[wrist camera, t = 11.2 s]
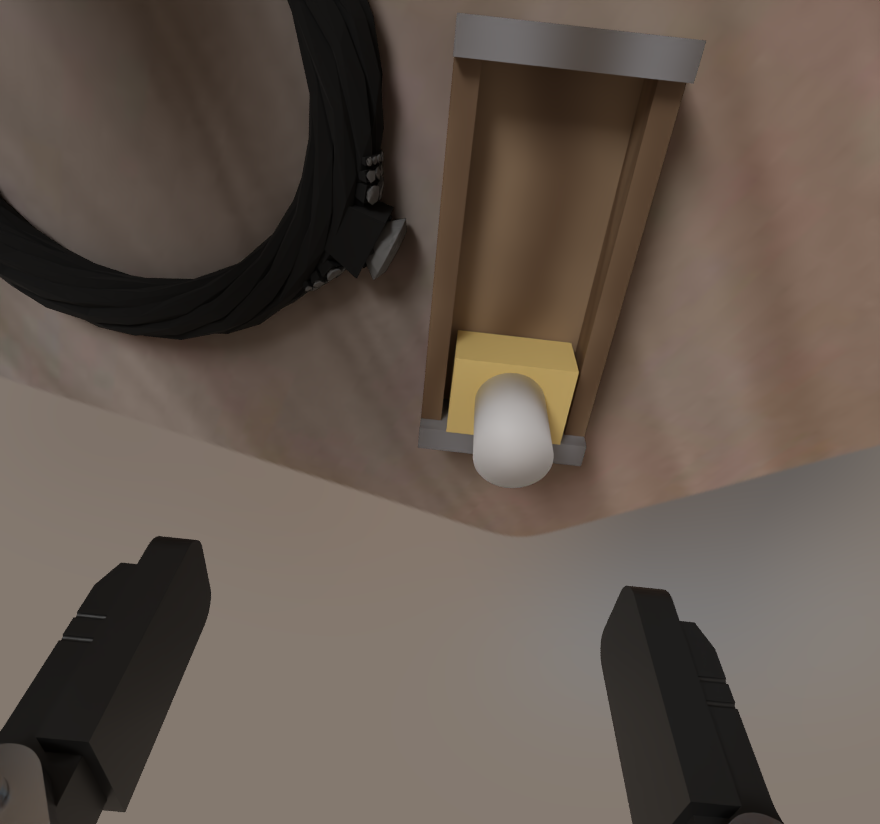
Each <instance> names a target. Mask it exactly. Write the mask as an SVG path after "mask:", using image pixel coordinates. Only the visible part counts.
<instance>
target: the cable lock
mask: <svg viewBox="0 0 880 824" xmlns="http://www.w3.org/2000/svg"><path fill="white" fill-rule="evenodd" d="M288 3H289V6H290V8H291V11H292V15H293V19H294V24H295V29H296V33H297V38H298V42H299V47H300V51H301V56H302V61H303V65H304V70H305V74H306V79H307V84H308V88H309V93H310V103H309V140H308V145H307V151H306V157H305V162H304V168H303V173H302V178H301V181H300V184H299V187H298V189H297V192H296V195H295V198H294V200H293V202H292V204H291V205H290V207H289V209H288V210H287V212H286V213H285V215H284V217H283V218H282V220H281V222H280V223H279V225H278V227H277V228H276V230H275V232H274V233H273V234H272V235H271V236H270V237H269V238H268V239H267V240H266V241H264V242H263V243H262V244H261V245H260V246H259V247H258V248H256V249H255V250H254V251H253V252H252V253H251V254H249V255H248V256H247V257H246V258H245V259H244V260H243V261H241V262H240V263H238V264H236V265H233V266H230V267H227V268H225V269H222V270H219V271H216V272H213V273H210V274H207V275H204V276H201V277H199V278H196V279H166V278H143V277H137V276H131V275H128V274H125V273H122V272H119V271H116V270H113V269H110V268H107V267H104V266H101V265H98V264H95V263H93V262H91V261H89V260H87V259H85V258H83V257H81V256H79V255H77V254H75V253H73V252H71V251H69V250H67V249H65V248H63V247H62V246H60V245H59V244H57V243H56V242H54V241H53V240H51V239H50V238H48V237H47V236H45V235H44V234H42V233H41V232H39V231H38V230H36V229H35V228H34V227H33V226H31V225H30V224H29V223H28V222H27V221H26V220H25V219H24V218H23V217H21V216H20V215H19V214H18V213H17V212H16V211H15V210H14V209H12V208H11V207H10V206H9V205H8V204H7V203H6V202H5V201H3V200H2V199H1V198H0V277H1V278H2V279H4V280H5V281H6V282H7V283H9V284H10V285H12V286H13V287H15V288H16V289H18V290H19V291H21V292H22V293H24V294H26V295H27V296H29V297H30V298H32V299H34V300H35V301H37V302H38V303H40V304H42V305H43V306H45V307H47V308H50V309H53V310H56V311H59V312H62V313H65V314H68V315H71V316H74V317H77V318H81V319H84V320H86V321H88V322H90V323H92V324H94V325H96V326H98V327H101V328H105V329H109V330H114V331H118V332H122V333H127V334H131V335H144V336H151V337H160V338H170V339H179V340H182V339H188V338H193V337H199V336H204V335H210V334H228V333H232V332H235V331H238V330H242V329H245V328H248V327H252V326H255V325H258V324H261V323H262V322H264V321H265V320H266V319H268V318H269V317H270V316H272V315H273V314H275V313H276V312H277V311H279V310H280V309H282V308H283V307H285V306H287V305H289V304H291V303H293V302H295V301H296V300H297V299H299V298H300V297H302V296H303V295H304V294H306V293H307V292H308V291H312V290H316V289H318V288H320V287H321V285H324V284H326V283H328V281H330V280H332V279H333V278H335V277H336V278H337V277H338V276H339V275H340V274H341V273H342V272H343V271H345V269H347V270H348V271H349V272H350V273H351V274H352V275H353V276H354V277H355V278H357V277H358V275H359V273H360V271H361V269H362V267H363V268H365V267H368V269H369V271H370V274H371V276H372V279H373V280H375V279H376V278H377V277H379V276H380V275H381V274H383V273H384V272H385V271H386V270H387V268H388V267H389V265H390V263H391V261H392V260H393V258H394V256H395V254H396V252H397V251H398V249H399V247H400V244H401V242H402V240H403V238H404V236H405V234H406V232H407V228H406V218H405V219H399V220H393V221H391V219H392V216H391V215H390V214H391V212H392V210H393V208H394V207H393V206H390V205H388V204H385V203H382V202H380V199H381V197H382V191H383V187H384V179H383V177H382V174H383V165H382V162H383V161H384V154H383V151H382V150H381V149H380V146H381V140H382V134H383V128H384V126H383V109H382V91H381V89H382V68H381V62H380V56H379V49H378V43H377V37H376V30H375V24H374V18H373V14H372V12H371V9H370V6H369V3H368V1H367V0H288Z"/></svg>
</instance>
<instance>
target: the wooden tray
mask: <svg viewBox="0 0 880 824" xmlns="http://www.w3.org/2000/svg"><path fill="white" fill-rule="evenodd" d="M705 43H706V41H705V40H696V39H687V38H678V37H669V36H660V35H651V34H642V33H633V32H624V31H616V30H607V29H598V28H589V27H580V26H571V25H562V24H553V23H544V22H535V21H526V20H518V19H509V18H500V17H491V16H482V15H473V14H464V13H457V19H456V30H455V41H454V52H453V57H454V63H453V74H452V85H451V96H450V107H449V118H448V129H447V140H446V151H445V162H444V173H443V184H442V195H441V206H440V217H439V228H438V239H437V250H436V261H435V272H434V283H433V294H432V305H431V316H430V327H429V338H428V349H427V360H426V371H425V382H424V393H423V404H422V415H421V423H420V429H419V440H418V448H426V449H434V450H443V451H452V452H461V453H469V454H473V439H474V435H470V434H461V433H453V432H446V429H447V419H448V409H449V399H450V390H451V382H452V374H453V366H454V358H455V349H456V341H457V333H458V330H462V331H471V332H480V333H488V334H497V335H506V336H515V337H524V338H532V339H541V340H550V341H559V342H567V343H571V344H572V348H573V352H574V355H575V359H576V363H577V367H578V371H579V374H578V378H577V382H576V385H575V389H574V393H573V397H572V401H571V405H570V408H569V412H568V416H567V420H566V424H565V427H564V431H563V435H562V439H561V443H560V445H557V444H552V447H553V453H554V459H553V463H557V464H565V465H574V466H581V464H582V460H583V457H584V454H585V450H586V443H585V438H584V436H585V432H586V429H587V425H588V422H589V418H590V415H591V411H592V408H593V405H594V401H595V398H596V394H597V391H598V387H599V384H600V380H601V377H602V373H603V370H604V366H605V363H606V360H607V356H608V353H609V349H610V346H611V342H612V339H613V335H614V332H615V328H616V325H617V321H618V318H619V314H620V311H621V308H622V304H623V301H624V297H625V294H626V290H627V287H628V283H629V280H630V276H631V273H632V269H633V266H634V263H635V259H636V256H637V252H638V249H639V245H640V242H641V238H642V235H643V231H644V228H645V224H646V221H647V218H648V214H649V211H650V207H651V204H652V200H653V197H654V193H655V190H656V186H657V183H658V179H659V176H660V173H661V169H662V166H663V162H664V159H665V155H666V152H667V148H668V145H669V141H670V138H671V134H672V131H673V127H674V124H675V121H676V117H677V114H678V110H679V107H680V103H681V100H682V96H683V93H684V89H685V86H686V83H693V84H694V81H695V77H696V74H697V71H698V67H699V64H700V60H701V57H702V54H703V50H704V47H705Z"/></svg>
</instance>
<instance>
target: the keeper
mask: <svg viewBox="0 0 880 824" xmlns="http://www.w3.org/2000/svg"><path fill="white" fill-rule="evenodd" d="M578 374H579V371H578V367H577V363H576V359H575V355H574V352H573V348H572V344H571V343H567V342H559V341H550V340H541V339H532V338H524V337H515V336H506V335H497V334H488V333H480V332H471V331H462V330H458V333H457V341H456V349H455V358H454V366H453V374H452V382H451V390H450V399H449V409H448V419H447V429H446V432H453V433H461V434H470V435H474V439H473V462H474V466H475V468H476V470H477V472H478V473H479V474H480V475H481V476H482V477H483V478H484V479H485V480H487V481H488V482H490V483H492V484H494V485H497V486H500V487H505V488H521V487H525V486H529V485H532V484H534V483H536V482H537V481H539V480H541V479H542V478H543V477H544V476H545V475H546V474H547V473H548V471H549V470H550V468H551V466H552V463H553V459H554V453H553V447H552V444H557V445H560V443H561V439H562V435H563V431H564V427H565V424H566V420H567V416H568V412H569V408H570V405H571V401H572V397H573V393H574V389H575V385H576V382H577V378H578Z"/></svg>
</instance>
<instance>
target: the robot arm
mask: <svg viewBox="0 0 880 824" xmlns="http://www.w3.org/2000/svg"><path fill="white" fill-rule="evenodd" d="M210 601H211V589H210V584H209V579H208V574H207V569H206V564H205V559H204V554H203V549H202V545H201V543H200V541H198V540H191V539H181V538H172V537H162V536H158V537H155V538H154V539H153V540H152V541H151V542H150V544H149V545H148V547H147V548H146V550H145V552H144V554H143V555H142V557H141V559H140V560H139V562H138V564H129V563H120V564H119V565H118V566H117V567H115V568H114V569H113V570H112V571H110V572H109V573H108V574H107V575H106V576H105V577H103V578H102V579H101V580H100V581H99V582H97V583H96V584H95V585H94V587H93V588H92V590H91V591H90V593H89V594H88V596H87V597H86V599H85V601H84V602H83V604H82V605H81V607H80V608H79V610H78V612H77V616H76V618H73V619H72V621H71V622H70V624H69V626H68V627H67V629H66V630H65V632H64V633H63V638H62V640H61V641H58V643H57V644H56V646H55V648H54V649H53V651H52V652H51V654H50V655H49V657H48V659H47V660H46V662H45V663H44V665H43V666H42V668H41V669H40V671H39V672H38V674H37V676H36V677H35V679H34V681H33V682H32V683H31V685H30V686H29V688H28V690H27V691H26V693H25V694H24V696H23V697H22V699H21V701H20V702H19V704H18V705H17V707H16V709H15V710H14V712H13V713H12V715H11V716H10V718H9V719H8V721H7V723H6V724H5V726H4V727H3V729H2V730H1V731H0V824H96V823H97V820H98V818H99V816H100V814H101V812H102V810H106V811H118V812H125V811H126V809H127V807H128V804H129V802H130V799H131V797H132V795H133V792H134V790H135V787H136V785H137V783H138V781H139V778H140V776H141V773H142V771H143V769H144V766H145V764H146V762H147V759H148V757H149V755H150V752H151V750H152V748H153V745H154V743H155V741H156V738H157V736H158V733H159V731H160V728H161V726H162V724H163V722H164V719H165V717H166V715H167V712H168V710H169V708H170V705H171V702H172V700H173V698H174V696H175V693H176V691H177V689H178V686H179V684H180V681H181V679H182V677H183V675H184V672H185V670H186V667H187V665H188V663H189V660H190V658H191V656H192V653H193V651H194V649H195V646H196V644H197V642H198V639H199V637H200V634H201V632H202V630H203V627H204V625H205V622H206V619H207V616H208V613H209V608H210ZM601 664H602V669H603V675H604V680H605V685H606V690H607V695H608V700H609V705H610V710H611V715H612V721H613V726H614V731H615V736H616V741H617V746H618V751H619V757H620V762H621V767H622V772H623V777H624V782H625V787H626V792H627V797H628V803H629V808H630V813H631V818H632V823H633V824H784V823H783V822H782V820H781V818H780V817H779V815H778V813H777V811H776V809H775V807H774V805H773V803H772V800H771V798H770V795H769V792H768V790H767V787H766V784H765V782H764V779H763V776H762V773H761V771H760V768H759V766H758V763H757V760H756V757H755V755H754V752H753V750H752V747H751V744H750V742H749V739H748V736H747V733H746V731H745V728H744V725H743V723H742V720H741V718H740V715H739V712H738V710H737V709H735V701H734V699H733V696H732V693H731V691H730V688H729V685H728V684H726V677H725V675H724V672H723V669H722V667H721V664H720V661H719V659H718V656H717V653H716V651H715V648H714V647H713V646H712V645H711V643H710V642H709V641H708V639H707V638H706V637H705V636H704V634H703V633H702V632H701V630H700V629H699V628H698V626H697V625H696V624H695V623H693V622H684V621H679V618H678V615H677V612H676V609H675V606H674V604H673V600H672V598H671V596H670V594H669V593H668V592H667V591H666V590H662V589H653V588H643V587H633V586H625V587H624V588H623V589H622V591H621V593H620V595H619V597H618V599H617V601H616V604H615V606H614V608H613V610H612V613H611V615H610V617H609V619H608V621H607V624H606V626H605V628H604V631H603V634H602V639H601Z"/></svg>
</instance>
